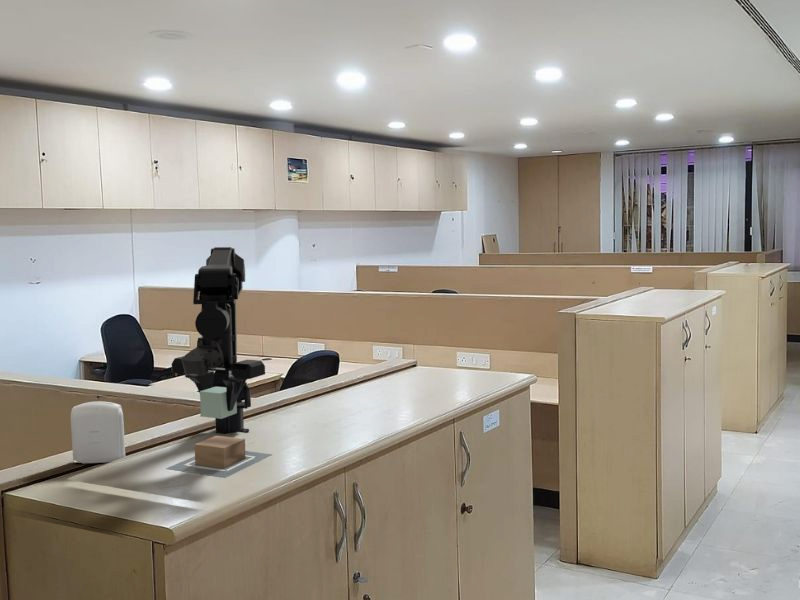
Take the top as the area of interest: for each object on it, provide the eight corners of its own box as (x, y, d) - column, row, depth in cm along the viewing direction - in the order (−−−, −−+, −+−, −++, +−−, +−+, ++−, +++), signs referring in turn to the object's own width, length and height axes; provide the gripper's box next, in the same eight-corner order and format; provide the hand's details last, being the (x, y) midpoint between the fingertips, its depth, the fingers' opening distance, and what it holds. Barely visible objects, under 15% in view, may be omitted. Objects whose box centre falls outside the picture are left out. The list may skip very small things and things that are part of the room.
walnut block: (217, 454, 159) (216, 435, 159) (245, 458, 156) (245, 439, 156) (195, 464, 153) (194, 444, 152) (224, 468, 150) (223, 448, 150)
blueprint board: (216, 451, 165) (216, 446, 165) (272, 459, 159) (272, 453, 159) (165, 473, 150) (165, 468, 150) (225, 482, 145) (225, 477, 145)
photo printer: (69, 465, 156) (66, 405, 155) (76, 459, 160) (73, 400, 159) (122, 463, 157) (120, 403, 156) (127, 457, 161) (125, 399, 160)
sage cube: (216, 410, 157) (215, 386, 157) (236, 413, 155) (236, 388, 155) (200, 416, 152) (199, 391, 152) (221, 418, 150) (220, 393, 150)
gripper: (151, 334, 149) (153, 414, 150) (231, 339, 141) (233, 423, 143) (188, 327, 159) (191, 402, 160) (265, 332, 151) (267, 410, 153)
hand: (219, 409), depth 154 cm, fingers closed on sage cube, 5 cm apart
